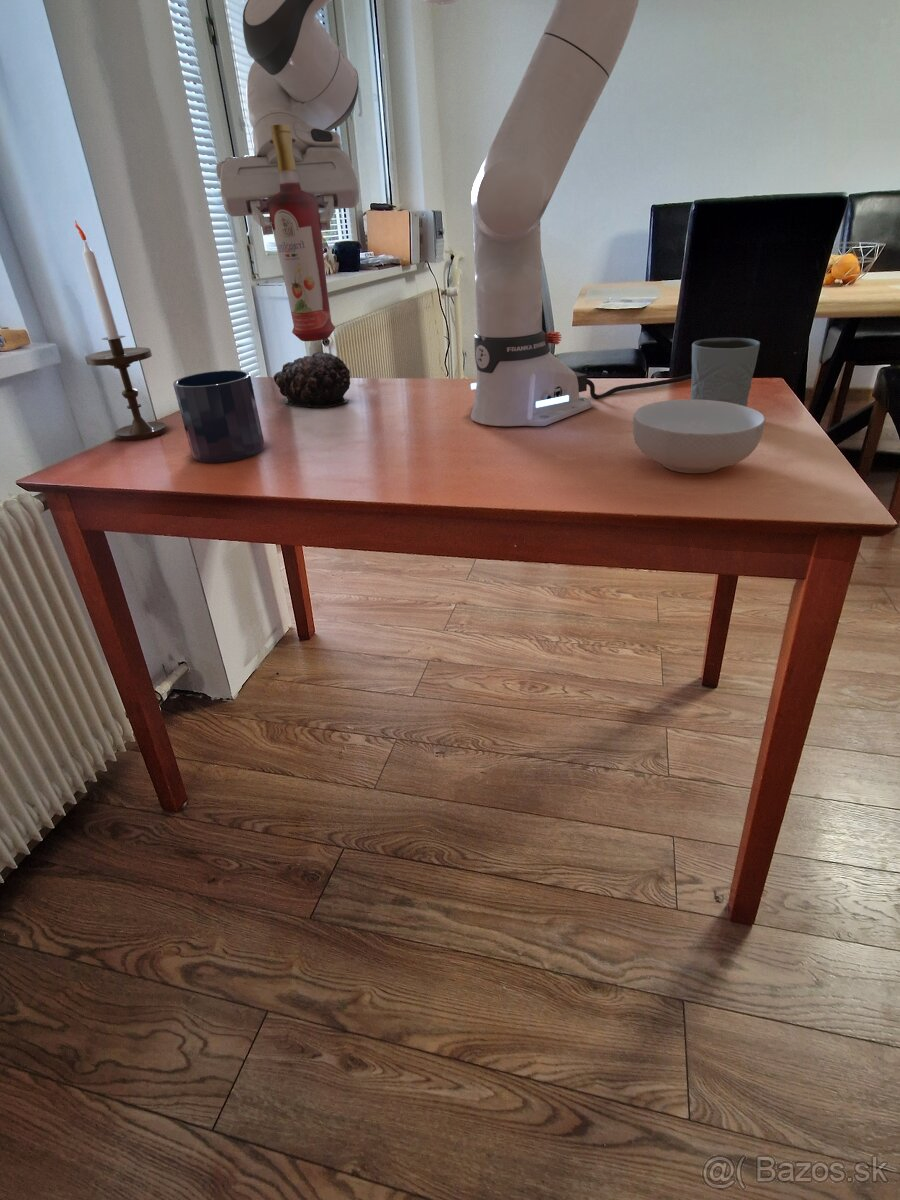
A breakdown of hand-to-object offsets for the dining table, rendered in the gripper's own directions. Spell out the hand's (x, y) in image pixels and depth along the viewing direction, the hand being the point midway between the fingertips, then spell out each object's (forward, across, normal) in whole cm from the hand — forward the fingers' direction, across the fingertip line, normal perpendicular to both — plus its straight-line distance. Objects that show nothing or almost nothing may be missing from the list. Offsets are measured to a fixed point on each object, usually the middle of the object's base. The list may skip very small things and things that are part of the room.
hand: (297, 229), depth 98 cm
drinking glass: (+33, +64, +12) cm, 73 cm away
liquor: (+11, 0, +11) cm, 16 cm away
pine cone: (+3, -2, +42) cm, 42 cm away
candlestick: (+9, -34, +36) cm, 50 cm away
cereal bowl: (+46, +48, -1) cm, 67 cm away
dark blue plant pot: (+22, -17, +22) cm, 36 cm away
